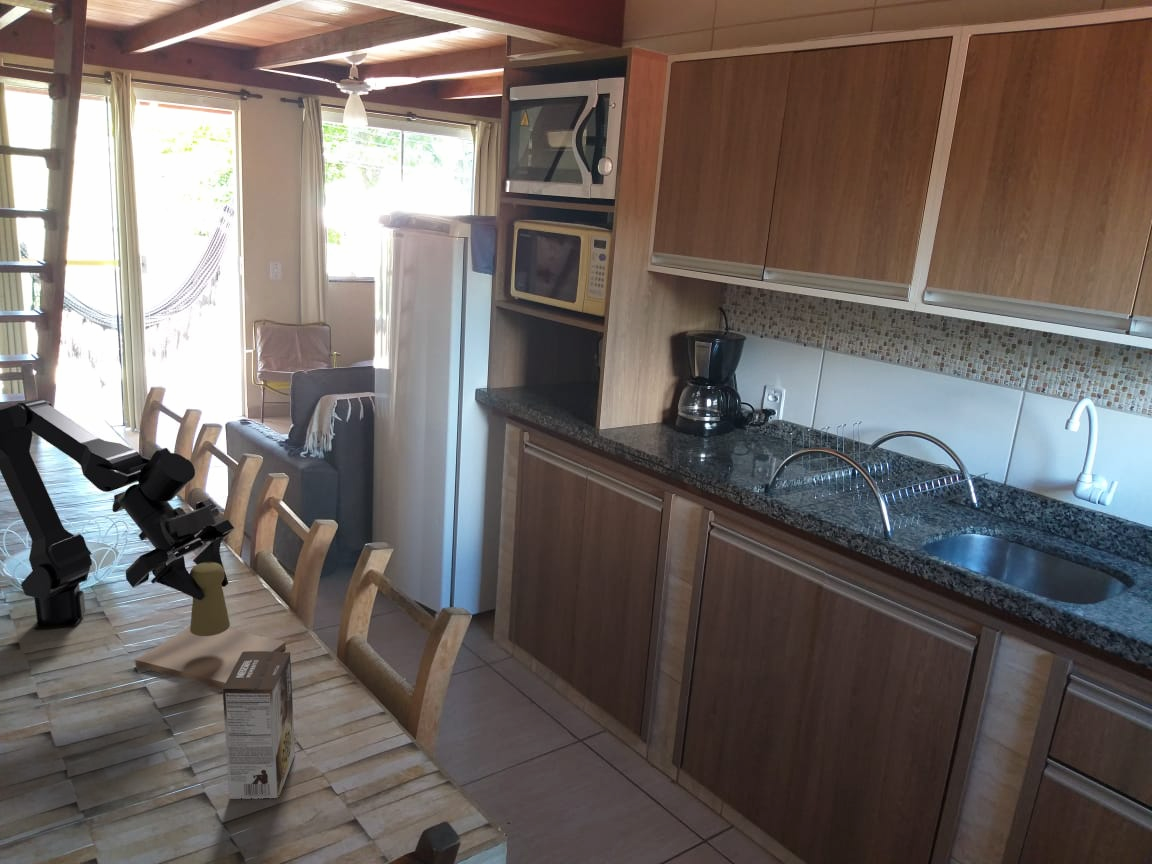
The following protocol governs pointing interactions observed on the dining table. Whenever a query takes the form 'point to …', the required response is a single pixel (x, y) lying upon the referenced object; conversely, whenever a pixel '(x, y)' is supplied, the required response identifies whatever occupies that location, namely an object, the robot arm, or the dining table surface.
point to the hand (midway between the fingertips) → (214, 591)
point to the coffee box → (259, 724)
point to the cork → (209, 601)
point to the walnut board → (205, 655)
